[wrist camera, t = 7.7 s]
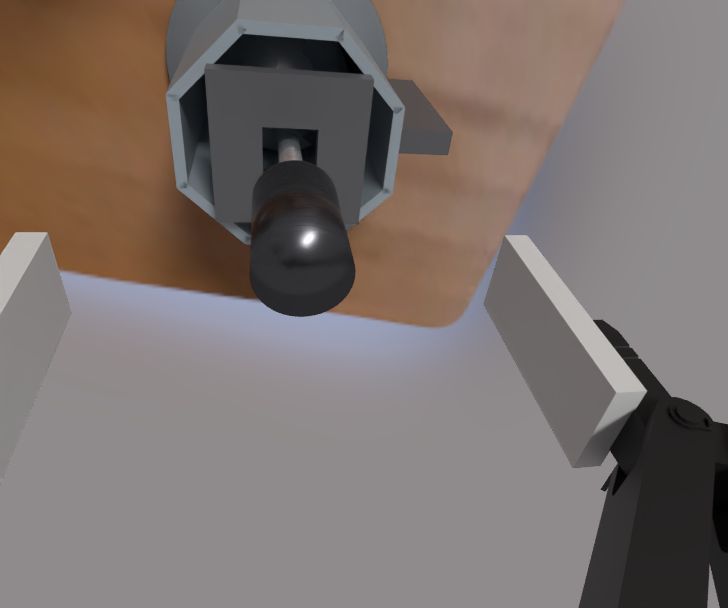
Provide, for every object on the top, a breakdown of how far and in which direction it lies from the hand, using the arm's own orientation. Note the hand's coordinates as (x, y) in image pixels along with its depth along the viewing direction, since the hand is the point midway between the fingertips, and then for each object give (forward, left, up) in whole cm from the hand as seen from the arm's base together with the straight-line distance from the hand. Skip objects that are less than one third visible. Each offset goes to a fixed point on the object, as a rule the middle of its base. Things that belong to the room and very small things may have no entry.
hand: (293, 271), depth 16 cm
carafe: (+2, 0, -23) cm, 23 cm away
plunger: (0, 0, -21) cm, 21 cm away
